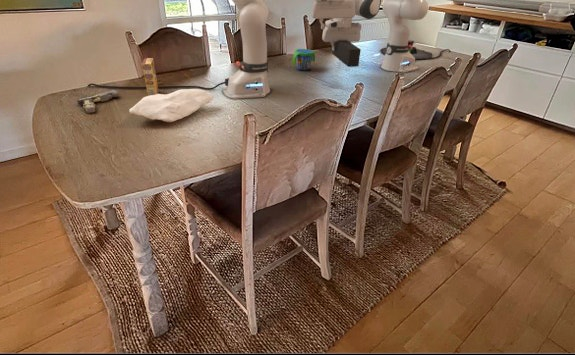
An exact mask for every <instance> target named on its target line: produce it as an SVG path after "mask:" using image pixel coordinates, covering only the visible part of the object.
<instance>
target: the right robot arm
mask: <svg viewBox="0 0 575 355" xmlns="http://www.w3.org/2000/svg"><path fill="white" fill-rule="evenodd" d="M381 4H382V12H383V14H384V15H385V16H386V18H387V21H388V25H389V35H388V41H387V43H386V47H385V48H386V54H385V53H384V54H385V55H384V58H383V61H382V63H381V66H380V68H381V69H382V70H384V71H387V72H388V71H389V72H393V73H394V72H395V73H404V74H405V73H408V72H412V71H417V70H419V67H418V66H417V65H415V64H416V61H419V60H434V59H437V58H440V57H441V56H442V53H443V52H445V51H448V52H451V50H450V49H449V48H446V49H445V48H444V49H443V50H441V51H439V55H437V56H434V57H429V58H423V59H422V58H421V59H415V58H414V57H413V56H412V55H411V53H410V52H409V49H412V48H413V47H414V45H413V46H411V45H409V46H408V40H410V34H411V30H410V28H409V27H408V26H407V25H406V23H405V20H411V21H420V20H422V19H424V18H425V17H426V16H427V14H428V12H429V3H428V0H356V4H355V16H358V17H362V18H364V19H366V20H372V19H373V18H375V17H377V15H378V13H379V12H380V8H381ZM343 21H344V20H343V18H330V19H328V20H326V21H325V23H324V25H325V29H322V35H321V39H322V41H323V42H324V43H330V45H331V47H332V48H331V51H332V50H333V51H335V50H336V47H334V43H335V42H337V41H342V40H347V41H349V42H350V43H358V42H360V40H361V30H362V24H361V23H360V22H353V18H347V21H346V23H345V24H344V28H340V24H342V23H343ZM380 55H381V53H375V54H373V57H378V56H380Z"/></svg>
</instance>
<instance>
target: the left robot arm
mask: <svg viewBox="0 0 575 355" xmlns="http://www.w3.org/2000/svg"><path fill="white" fill-rule="evenodd" d="M231 1H232V2H233V4H234V5H235V6H236V8H237V9H238V10H239V11H240V12H239V17H238V21H239V27H240V35H241V36H240V37H241V41H242V42H241V43H242V59H243V60H242V61H236V62H235V65H236V66H237V67H239V69H237V71H236V72H235V73H234V74H232V75H231V76H230V77H228V78H224V81H223V82H220V83H218V84H215V86H212V87H204V86H201V85H158V89H173V88H175V89H176V88H177V89H180V88H181V89H186V88H187V89H202V90H205V91H208V90H209V91H210V90H214V89H216V88H218V87H220V86H222V85H224V86H226V87H224V88H223V91H222V92H223V94H224V95H225V96H226V97H228V98H230V99H233V100H236V99H237V100H238V99H239V100H240V99H253V98H254V99H255V98H264V97H266V95H268V94H269V93H270V92H271V88H270V84H269V78H268V76H269V75H268V72H269V61H268V41H267V28H266V24H267V22H268V20H269V17H270V13H269V8H268V7H267V5H266V4H265V2H264V0H231ZM355 4H356V0H314V1H313V2H312V7H311V17H312V18H313V19H314V20H318V21H319V23H320V29H321V30H324V29H325V26H326V25H325V23H324V19H333V18H343V20H344V21H343V23H342V24H340V28H344V24H345V23H346V21H347V18H352V19H353V18H354V17H355V16H356V15H355ZM91 86H95V87H98V88H107V89H147V88H146V86H122V85H121V86H119V85H102V84H97V83H89V84H87V86H86V87H87V88H89V87H91Z"/></svg>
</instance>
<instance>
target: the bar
mask: <svg viewBox="0 0 575 355" xmlns="http://www.w3.org/2000/svg"><path fill="white" fill-rule="evenodd" d="M334 47H336V50H335V51H333V50H332V49H331V54H332V55H333V56H334V57H335V58H337V59H338V60H339V61H340V62H341V63H343V64H344V65H345V66H346V67H350V68H352V67H353V68H354V67H355V68H356V67H359V64H360V57H361V52H362V51H361V50H362V49H361V48H359V47H358V46H356V45H355V44H353V42H351V43H350V42H349V41H347V40H342V41H337V42H335V43H334Z"/></svg>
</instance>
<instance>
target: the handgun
mask: <svg viewBox="0 0 575 355" xmlns="http://www.w3.org/2000/svg"><path fill="white" fill-rule="evenodd" d="M119 96H120V94H119V92H118V91H117V90H116V89H112V90H108V91H105V92H104V91H103V92H101V93H96V94H94V95H86V94H85V95H84V94H83V95H81V96H80V97H77V98H76V101H77V104H78V105H82V108H83V109H84V110H85V113H87V114H91V113H95V112H96V104H95V103H98V102H106V101H109V100H111V99H113V98H117V97H119Z"/></svg>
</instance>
